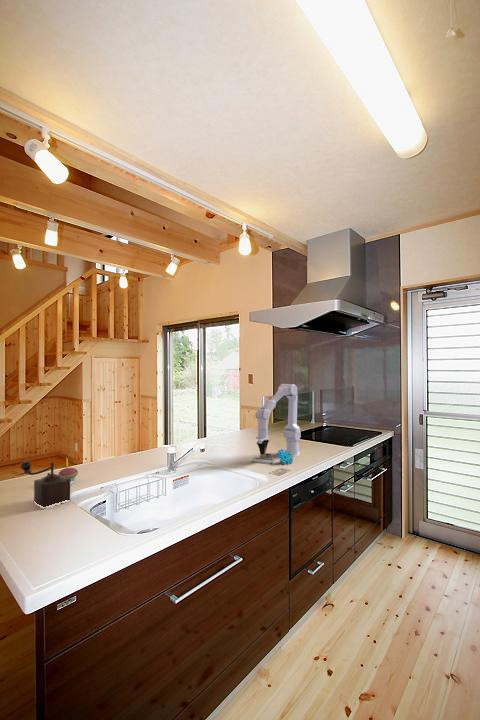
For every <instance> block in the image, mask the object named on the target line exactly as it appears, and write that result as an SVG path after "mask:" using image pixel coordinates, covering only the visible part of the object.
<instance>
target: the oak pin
mask: <svg viewBox="0 0 480 720" xmlns="http://www.w3.org/2000/svg"><path fill="white" fill-rule="evenodd" d="M266 453H267V449H266V447H265V453H264V454H260V453H259V454H260V458H263V459H264V458H266Z"/></svg>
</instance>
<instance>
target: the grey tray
mask: <svg viewBox="0 0 480 720" xmlns="http://www.w3.org/2000/svg"><path fill="white" fill-rule="evenodd" d="M275 461H276V458H274V457H273V458H264V459H263V458H260V457H259V456H254V458H253V459H251V461H250V462H251V463H255V464H267V465H268V464H269V465H272V464H273V463H274V462H275Z"/></svg>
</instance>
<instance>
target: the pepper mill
mask: <svg viewBox="0 0 480 720" xmlns="http://www.w3.org/2000/svg"><path fill="white" fill-rule="evenodd" d="M31 467H32V462H31V461H30V460H25V461H22V462H21V463H20V469H21V470H23V474H27V475H31V476H34V475H39V474H42V473H45V472H46V471H49V470H50V472H47V475H46V476H43V477H41V478H39V479H35V480H33V481H34V482H33V487H34V488H33V502H34V501H35V502H36V503H37V504H39V505H41V506H43V507H46V506H49V505H52V504H55V503H59V502H62V501H65V500H70V501H71V484H70V479H69V478H66V477H64V476H62V475H60V474H59V473H58V474H59V475H58V474H56V473H55V472H54V468H55V462H54V461H51V462H50V466H49V467H47V468H44V469H42V470H39V471H36V472H32V471H33V470H32V469H31Z"/></svg>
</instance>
